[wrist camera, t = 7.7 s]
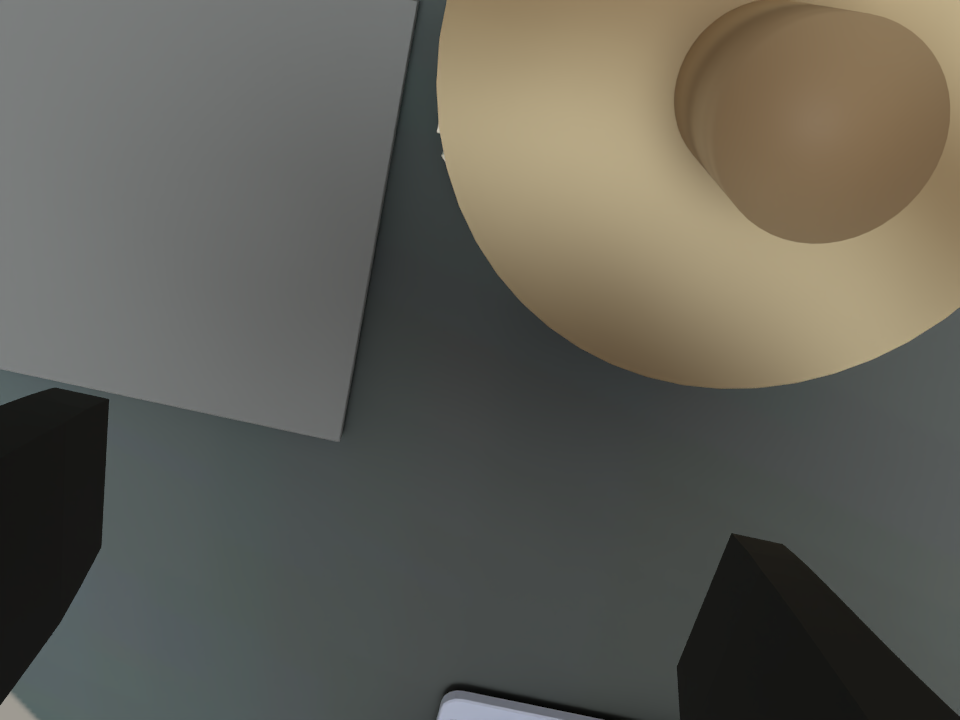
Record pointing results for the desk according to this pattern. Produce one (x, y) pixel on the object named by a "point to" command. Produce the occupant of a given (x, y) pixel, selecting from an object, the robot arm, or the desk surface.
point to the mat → (197, 197)
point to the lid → (712, 175)
